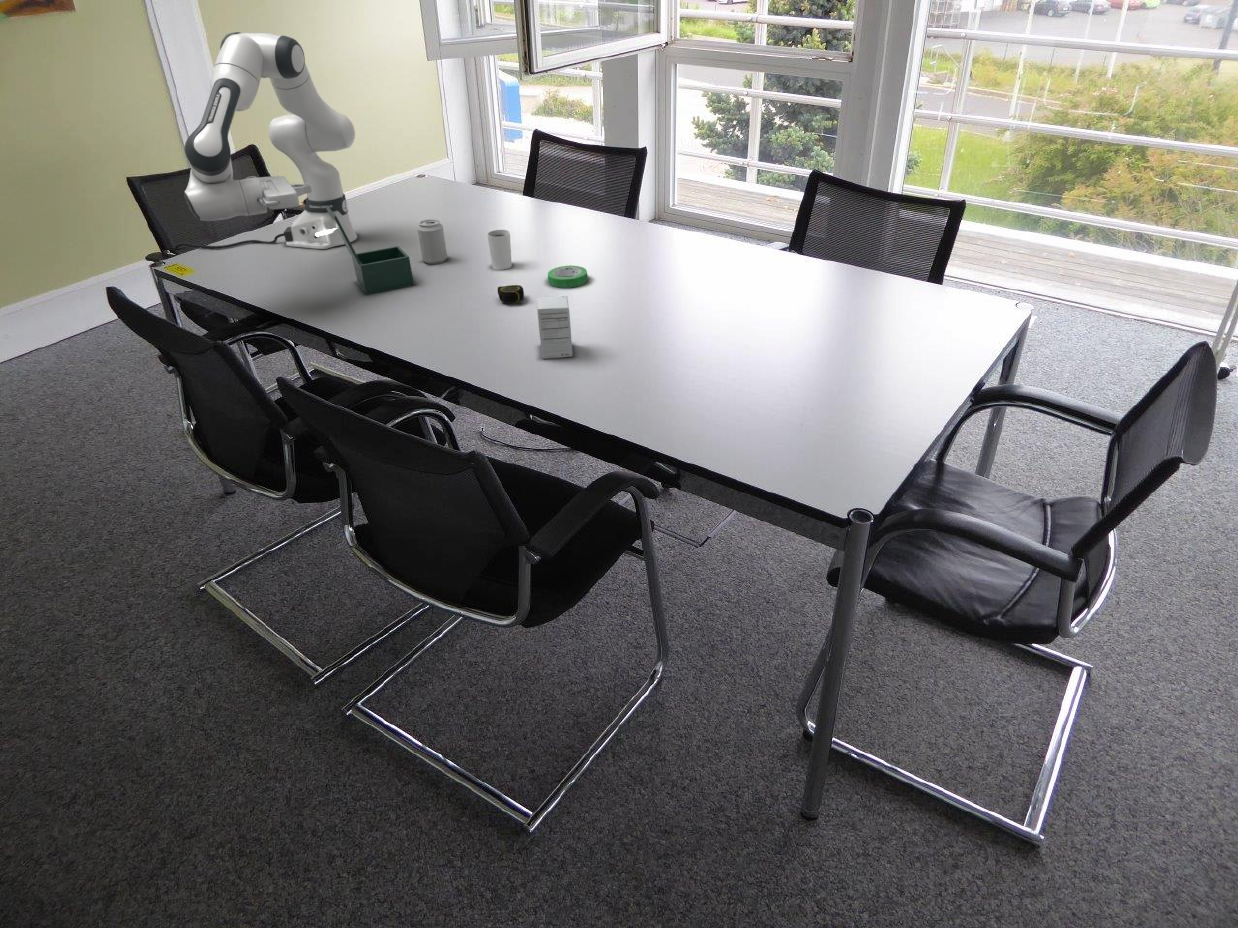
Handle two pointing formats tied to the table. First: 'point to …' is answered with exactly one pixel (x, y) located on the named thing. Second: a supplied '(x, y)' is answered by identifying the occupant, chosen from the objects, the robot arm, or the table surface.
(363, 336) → the table surface
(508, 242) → the white cup
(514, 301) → the tape measure
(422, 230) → the can
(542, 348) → the white packaging box
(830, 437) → the table surface
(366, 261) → the tin
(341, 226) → the tin lid
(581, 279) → the tape roll
